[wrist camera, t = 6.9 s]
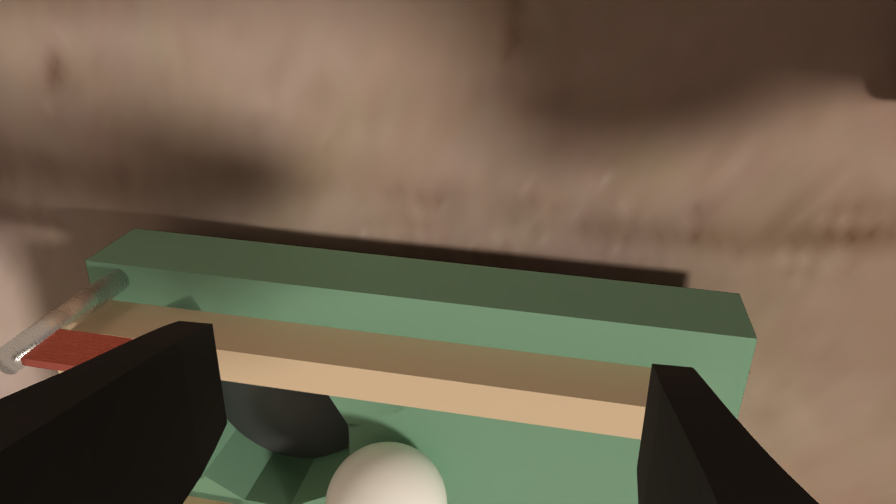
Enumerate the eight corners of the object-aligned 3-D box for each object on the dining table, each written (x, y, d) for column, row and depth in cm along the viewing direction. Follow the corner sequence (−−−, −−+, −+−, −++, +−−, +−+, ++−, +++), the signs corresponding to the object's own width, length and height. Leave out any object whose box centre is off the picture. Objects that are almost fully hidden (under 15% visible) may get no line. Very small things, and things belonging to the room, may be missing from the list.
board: (739, 293, 20) (780, 397, 16) (676, 569, 25) (694, 709, 20) (134, 228, 23) (24, 300, 19) (178, 485, 28) (99, 591, 23)
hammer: (191, 277, 20) (93, 362, 16) (194, 298, 21) (98, 387, 17) (105, 267, 21) (-11, 348, 17) (109, 288, 21) (-4, 372, 17)
